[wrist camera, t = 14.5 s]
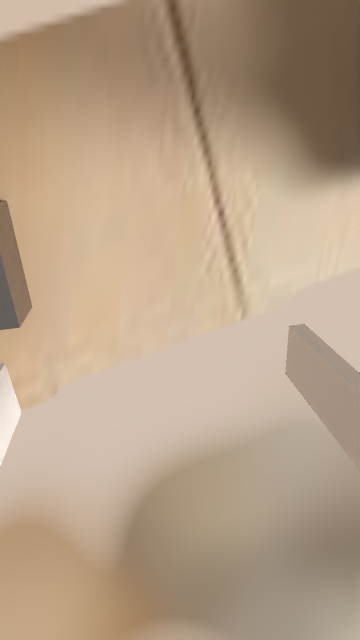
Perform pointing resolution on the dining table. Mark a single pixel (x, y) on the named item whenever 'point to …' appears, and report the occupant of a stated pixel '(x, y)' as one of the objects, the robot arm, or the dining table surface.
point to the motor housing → (11, 276)
